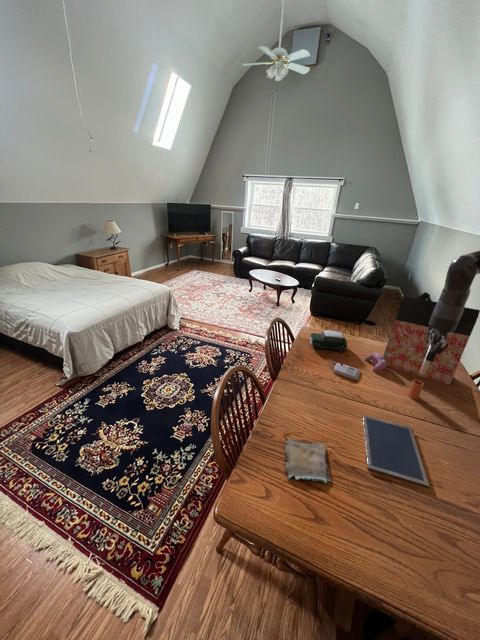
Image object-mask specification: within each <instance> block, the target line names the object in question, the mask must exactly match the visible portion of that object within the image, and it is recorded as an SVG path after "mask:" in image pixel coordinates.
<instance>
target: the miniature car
mask: <svg viewBox="0 0 480 640" xmlns="http://www.w3.org/2000/svg"><path fill="white" fill-rule="evenodd" d="M309 344H310V345H311V346H312V348H313V349H314V350H319V348H322V349H331V350H338V352H339V353H344V352H345V351H346V350H347V349H348V341H347V339H346V337H345V335H344V333H343V332H340V331H336V330H328V329H325V330H323V331H322V332H321V333H310V337H309Z"/></svg>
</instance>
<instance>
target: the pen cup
mask: <svg viewBox="0 0 480 640" xmlns="http://www.w3.org/2000/svg"><path fill="white" fill-rule="evenodd" d="M424 386H425V383H424V382H423V381H422V380H420V379H413V380H412V382H411V384H410V387H409V389H408V392H407V397H408V398H410V399H412V400H419V398H420V395H421V393H422V391H423V388H424Z"/></svg>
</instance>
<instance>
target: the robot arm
mask: <svg viewBox="0 0 480 640" xmlns="http://www.w3.org/2000/svg"><path fill="white" fill-rule="evenodd" d="M479 274H480V250H476V251H472V252H468V253H465V254H461V255H459V256H457V257H455V258H454V259H453V260H452V261H451V263H450V264H449V266H448V269H447V272H446V276H445V281H444V286H443V289H442V290H441V293H440V295H439V298H438V301H436V302H437V304H436V306H435V308H434V311H433V313H432V316H431V318H430V321H429V325H430V326H431V327H432V328H430V327H429V328H428V332H427V338H426V343H427V347H428V348H427V349H426V352H425V354H424V356H425V357H426V354H427V351H428V349H429V346H430V345H431V347H430V349H429V352H428V354H427V357H426V360H427V361H431V362H433V361H434V358H435V356H436V354H441V353H442V352H443V351H444V350H445V349H446V348H447V347H448V343H445V340H446V339H447V334H448V333H449V332H453V331H455V329H456V327H457V325H458V323H459V320H460V318H461V316H462V314H463V311H464V307H466V304H467V302H468V299H469V297H470V295H471V286H472V285H473V282H474V280H475V278H476V275H479ZM433 347H434V348H433Z"/></svg>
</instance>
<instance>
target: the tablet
mask: <svg viewBox="0 0 480 640" xmlns="http://www.w3.org/2000/svg"><path fill="white" fill-rule="evenodd" d="M361 420H362V429H363V440H364V450H365V458H366V459H365V460H366V469H367V470H368V471H371V472H375V473H377V474H381V475H384V476H388V477H391V478H394V479H397V480H401V481H404V482H408V483H410V484H413V485H417V486H421V487H424V488H427V489H429V488H430V484H429V480H428V477H427V473H426V471H425V468H424V464H423V461H422V457H421V455H420V451H419V448H418V445H417V442H416V439H415V435H414V433H413V429H412V427H411V426H407V425H404V424H400V423H395V422H392V421H388V420H385V419H380V418H377V417H373V416H368V415H365V414H362V419H361Z"/></svg>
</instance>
